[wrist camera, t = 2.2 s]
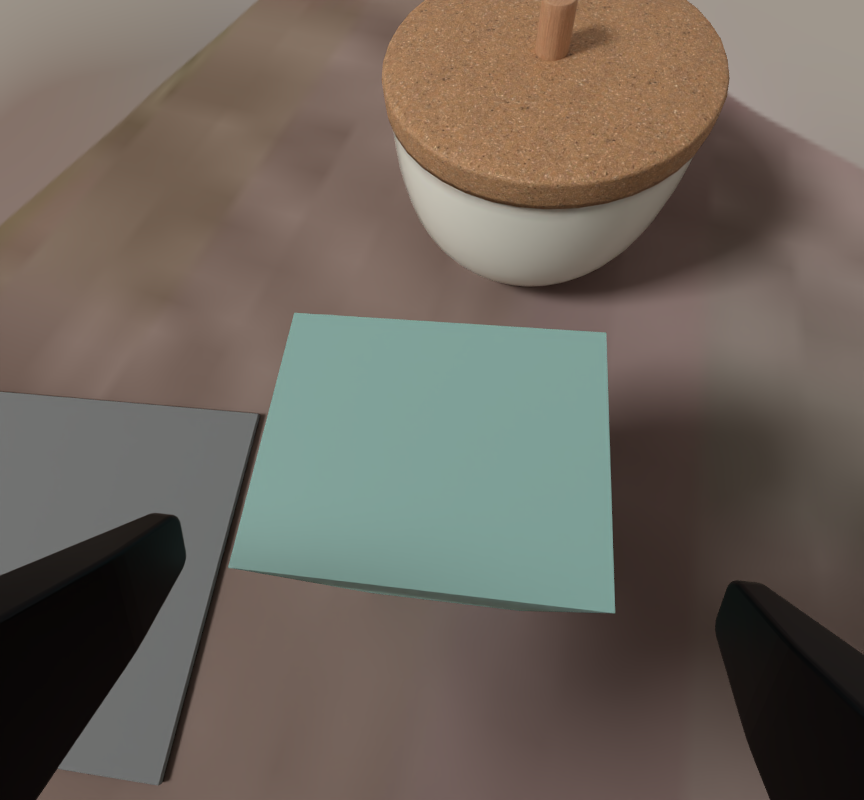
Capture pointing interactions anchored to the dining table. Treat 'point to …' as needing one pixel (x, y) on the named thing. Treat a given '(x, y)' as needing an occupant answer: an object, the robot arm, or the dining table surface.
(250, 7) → the dining table surface
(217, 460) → the mat
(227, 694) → the dining table surface
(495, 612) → the dining table surface
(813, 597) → the dining table surface
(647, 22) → the lidded jar
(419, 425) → the block
